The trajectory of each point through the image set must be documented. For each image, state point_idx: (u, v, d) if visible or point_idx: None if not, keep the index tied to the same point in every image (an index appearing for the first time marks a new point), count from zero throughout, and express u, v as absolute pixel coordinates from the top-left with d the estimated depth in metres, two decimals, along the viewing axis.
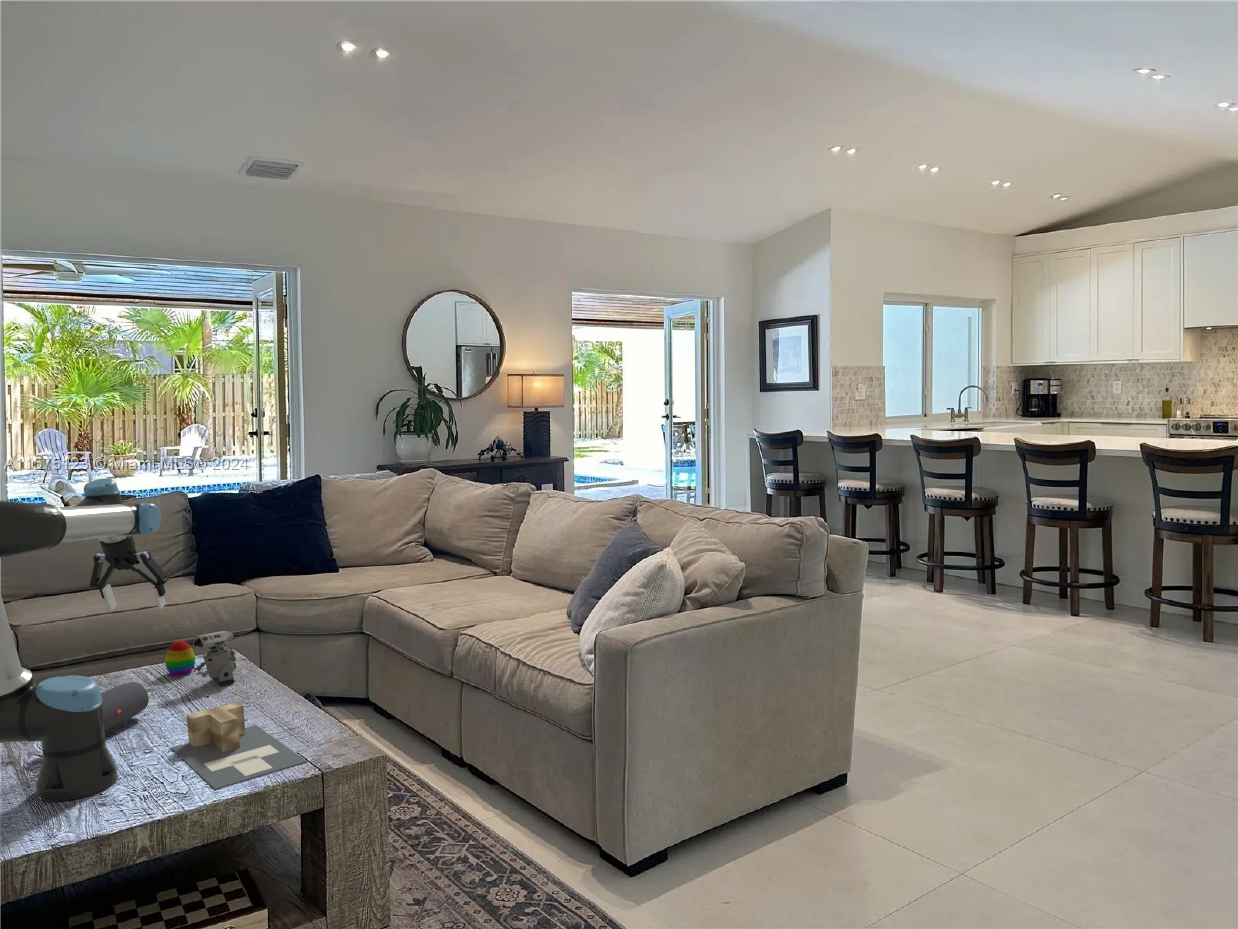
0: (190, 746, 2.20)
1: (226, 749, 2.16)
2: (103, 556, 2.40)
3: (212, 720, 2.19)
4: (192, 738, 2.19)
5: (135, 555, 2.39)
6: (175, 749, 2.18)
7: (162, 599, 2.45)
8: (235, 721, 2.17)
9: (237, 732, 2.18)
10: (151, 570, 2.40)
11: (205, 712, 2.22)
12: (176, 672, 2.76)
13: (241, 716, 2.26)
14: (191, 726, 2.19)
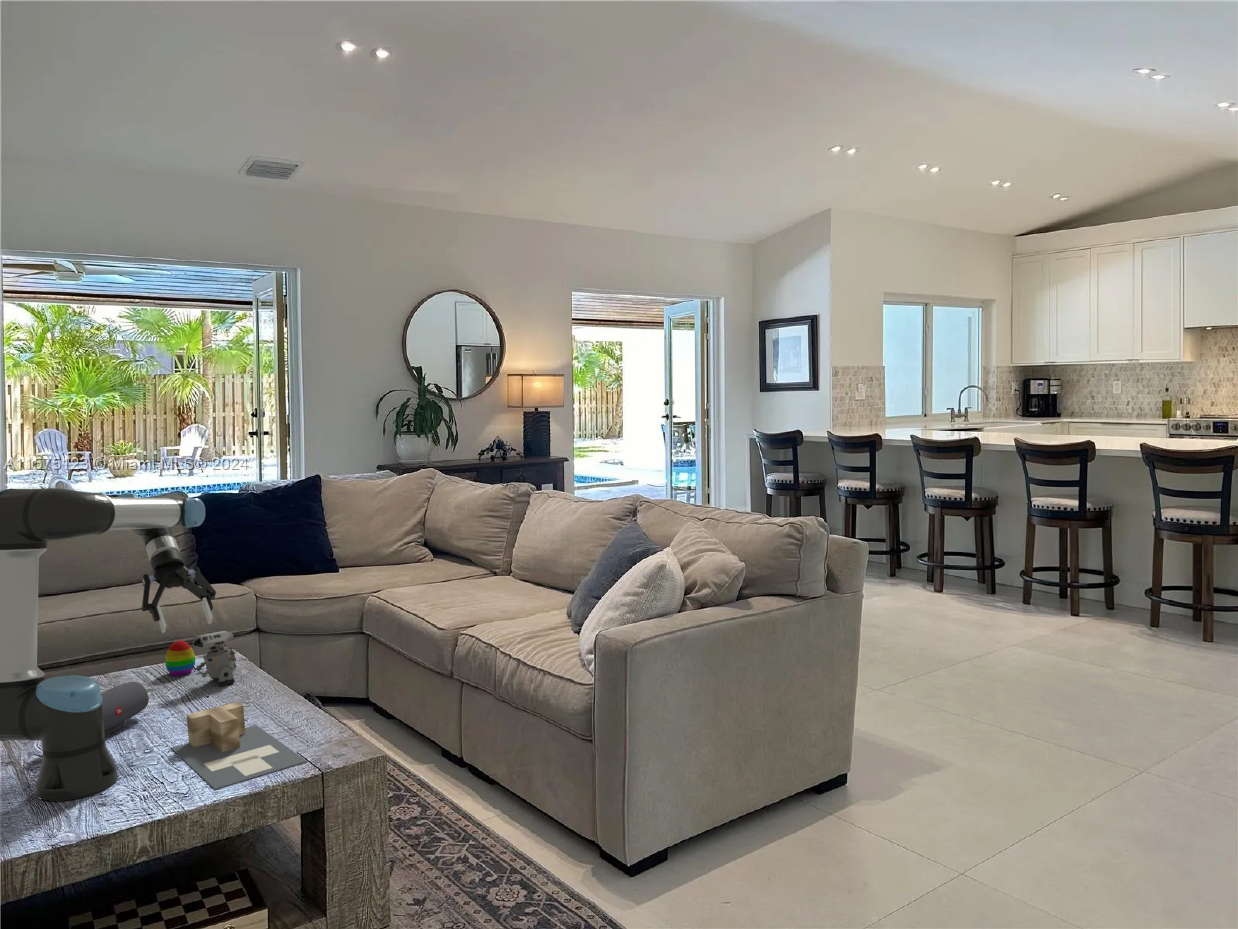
0: (190, 746, 2.20)
1: (226, 749, 2.16)
2: (152, 576, 2.39)
3: (212, 720, 2.19)
4: (192, 738, 2.19)
5: (187, 569, 2.45)
6: (175, 749, 2.18)
7: None
8: (235, 721, 2.17)
9: (237, 732, 2.18)
10: (204, 581, 2.44)
11: (205, 712, 2.22)
12: (176, 672, 2.76)
13: (241, 716, 2.26)
14: (191, 726, 2.19)
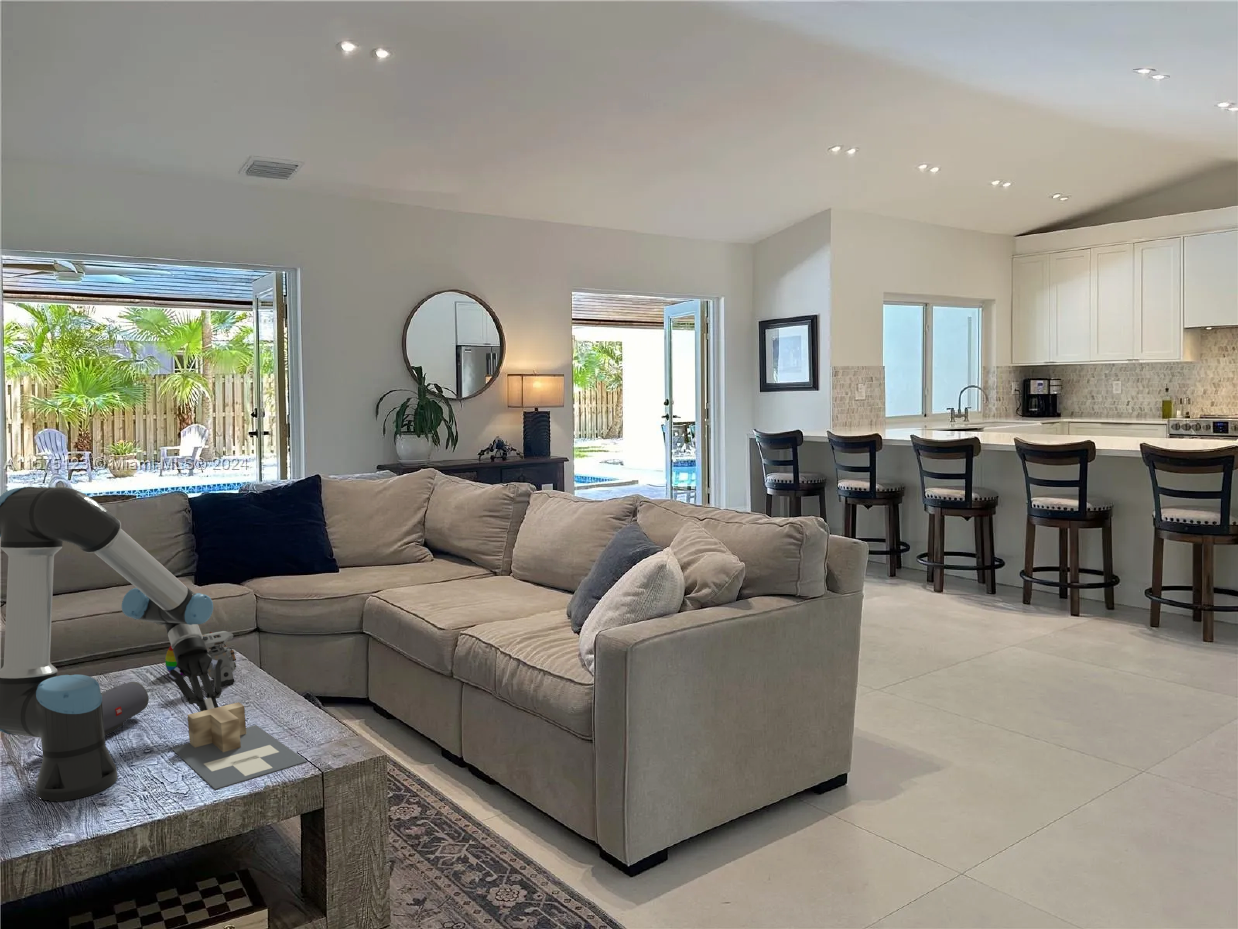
0: (190, 746, 2.20)
1: (227, 749, 2.16)
2: (176, 668, 2.31)
3: (213, 720, 2.19)
4: (193, 738, 2.19)
5: None
6: (175, 749, 2.18)
7: None
8: (236, 721, 2.17)
9: (238, 732, 2.17)
10: (218, 676, 2.34)
11: (206, 713, 2.22)
12: None
13: (242, 716, 2.26)
14: (192, 726, 2.19)
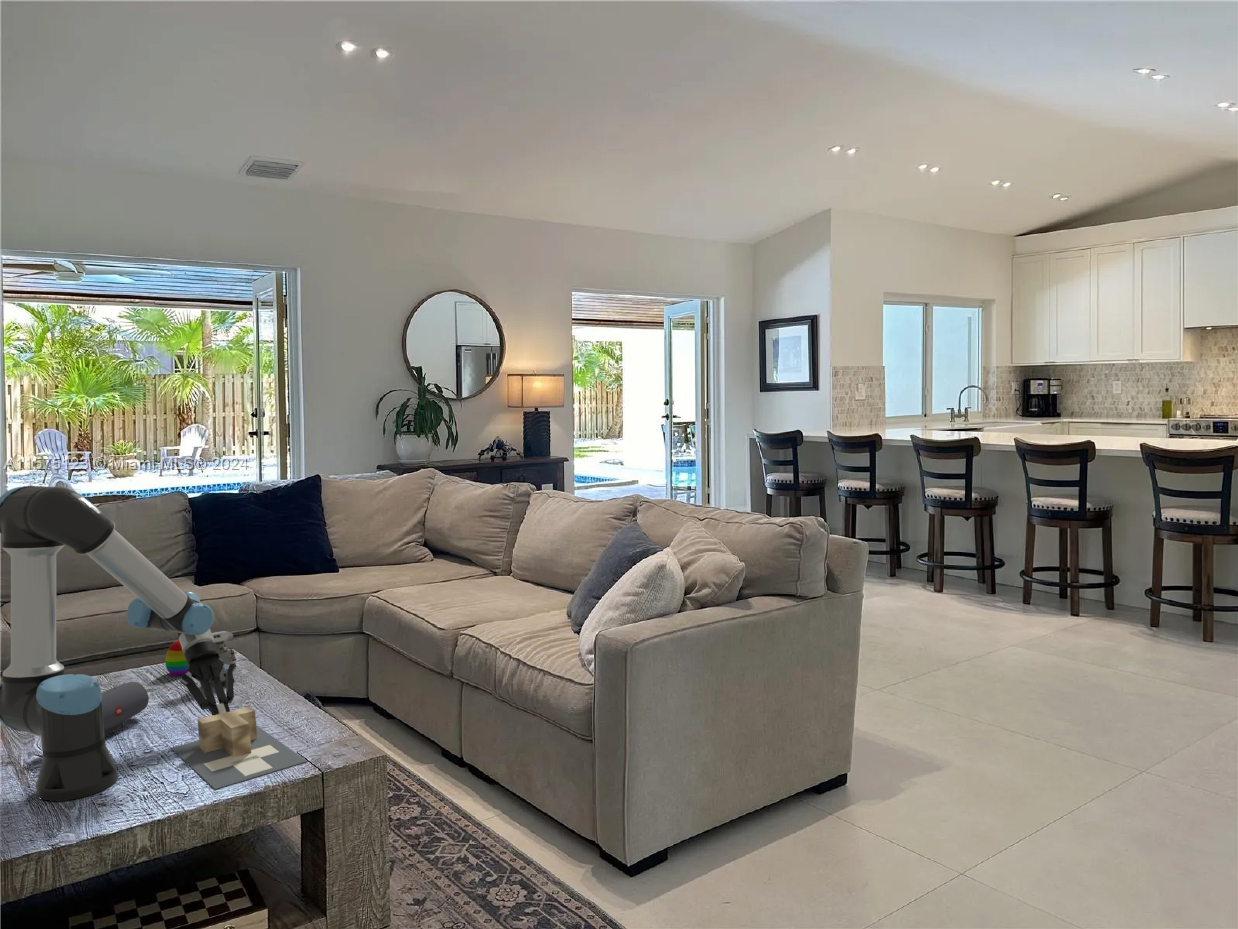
0: (190, 746, 2.20)
1: (237, 755, 2.12)
2: (188, 673, 2.28)
3: (223, 725, 2.16)
4: (203, 743, 2.16)
5: (222, 661, 2.34)
6: (175, 749, 2.18)
7: None
8: (246, 726, 2.13)
9: (248, 737, 2.14)
10: (230, 681, 2.31)
11: (216, 717, 2.18)
12: (176, 672, 2.76)
13: (253, 721, 2.22)
14: (202, 731, 2.15)
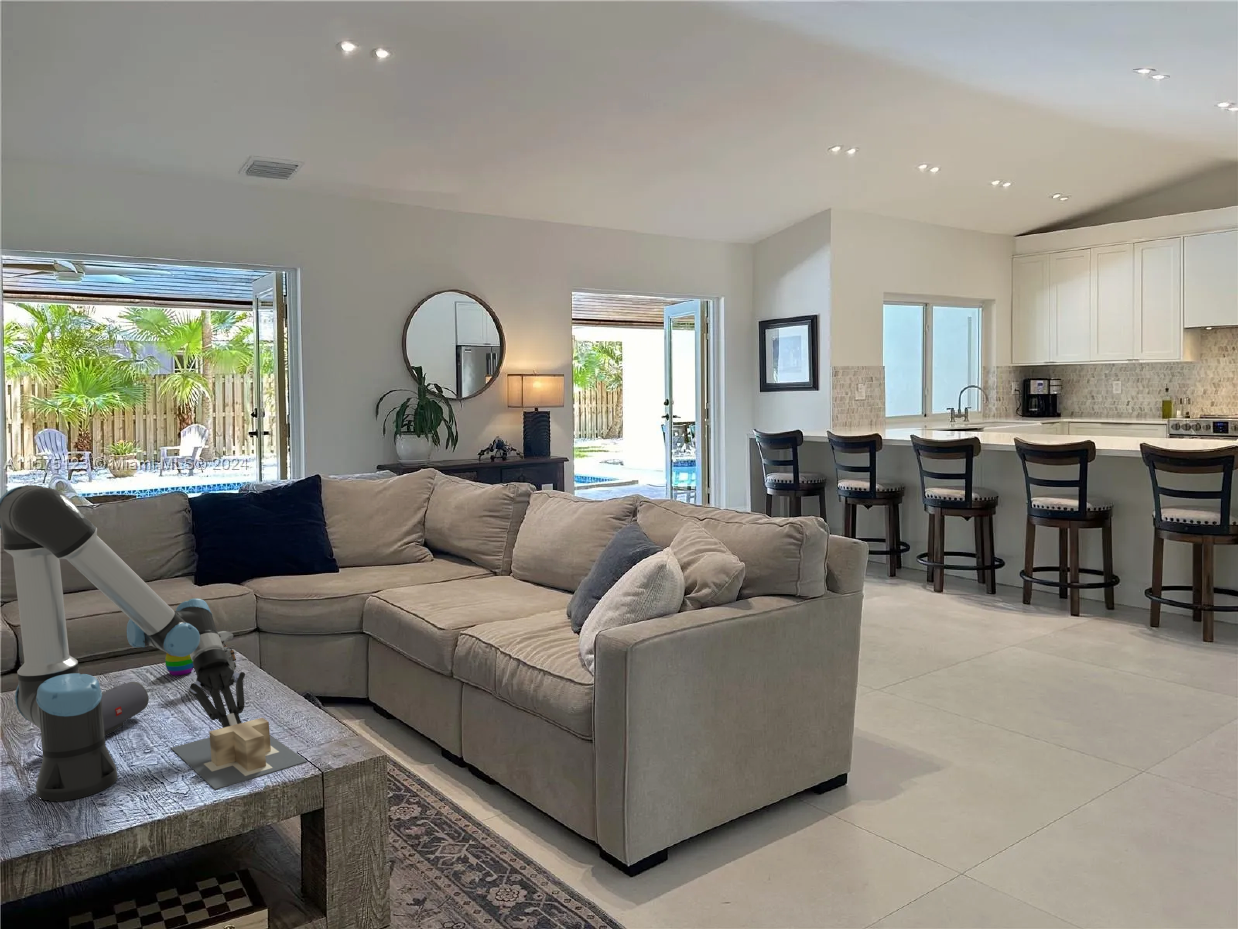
0: (190, 746, 2.20)
1: (251, 768, 2.04)
2: (197, 682, 2.20)
3: (236, 737, 2.07)
4: (215, 756, 2.07)
5: (232, 669, 2.26)
6: (175, 749, 2.18)
7: None
8: (261, 738, 2.05)
9: (263, 750, 2.06)
10: (240, 690, 2.22)
11: (228, 729, 2.10)
12: (176, 672, 2.76)
13: (266, 733, 2.14)
14: (214, 744, 2.07)
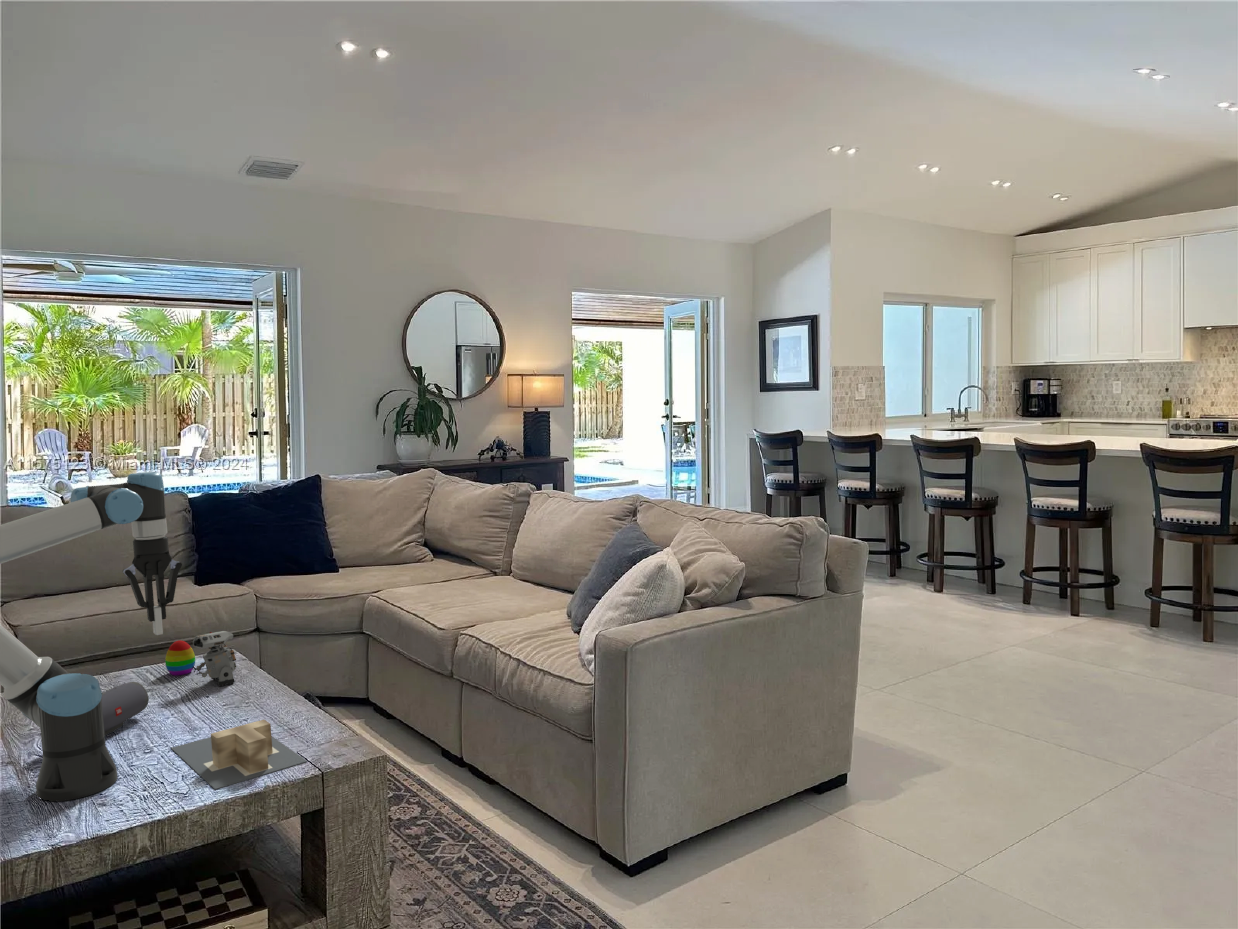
0: (190, 746, 2.20)
1: (254, 771, 2.03)
2: (132, 566, 2.18)
3: (238, 740, 2.06)
4: (217, 759, 2.06)
5: None
6: (175, 749, 2.18)
7: None
8: (264, 740, 2.04)
9: (265, 752, 2.04)
10: (173, 582, 2.24)
11: (230, 731, 2.09)
12: (176, 672, 2.76)
13: (268, 735, 2.13)
14: (216, 746, 2.06)
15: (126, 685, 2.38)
